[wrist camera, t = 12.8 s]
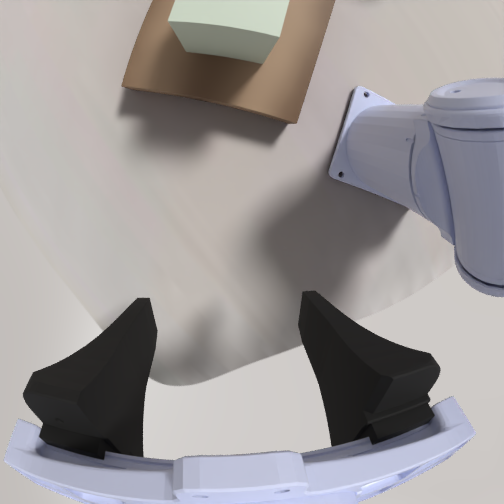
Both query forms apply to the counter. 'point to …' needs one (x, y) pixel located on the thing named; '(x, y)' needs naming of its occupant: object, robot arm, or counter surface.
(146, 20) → the walnut block
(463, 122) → the robot arm
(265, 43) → the sage block
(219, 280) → the counter surface
